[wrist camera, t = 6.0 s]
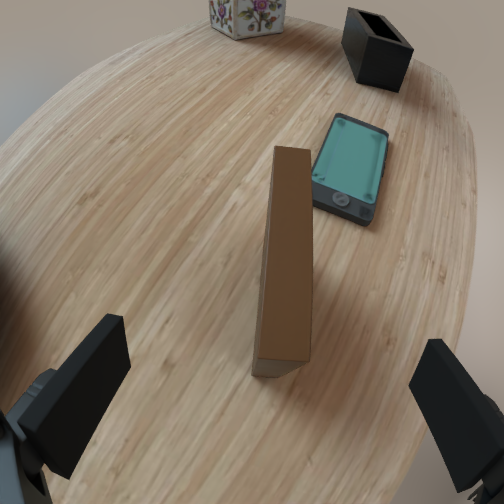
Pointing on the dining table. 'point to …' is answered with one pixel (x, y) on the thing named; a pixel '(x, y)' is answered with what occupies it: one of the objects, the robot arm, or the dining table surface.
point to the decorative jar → (247, 17)
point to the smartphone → (350, 169)
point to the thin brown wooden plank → (286, 268)
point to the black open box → (375, 50)
